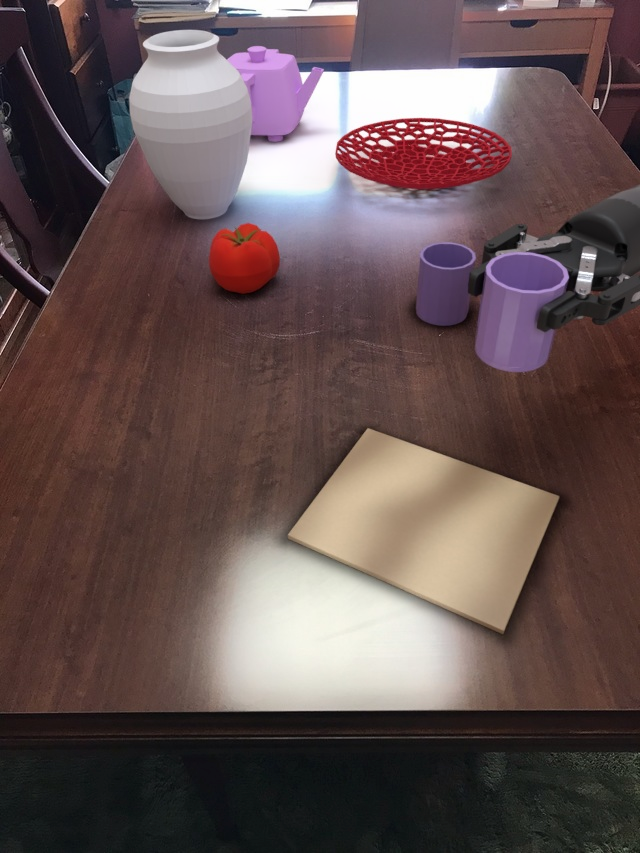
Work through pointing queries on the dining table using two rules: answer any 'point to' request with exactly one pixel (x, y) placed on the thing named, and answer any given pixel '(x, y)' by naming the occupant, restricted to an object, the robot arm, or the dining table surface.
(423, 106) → the dining table surface
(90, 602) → the dining table surface
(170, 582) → the dining table surface
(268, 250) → the tomato
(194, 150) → the vase
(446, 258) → the lilac cup
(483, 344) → the lavender cup
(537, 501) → the mat
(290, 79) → the teapot
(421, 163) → the bowl
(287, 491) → the dining table surface
